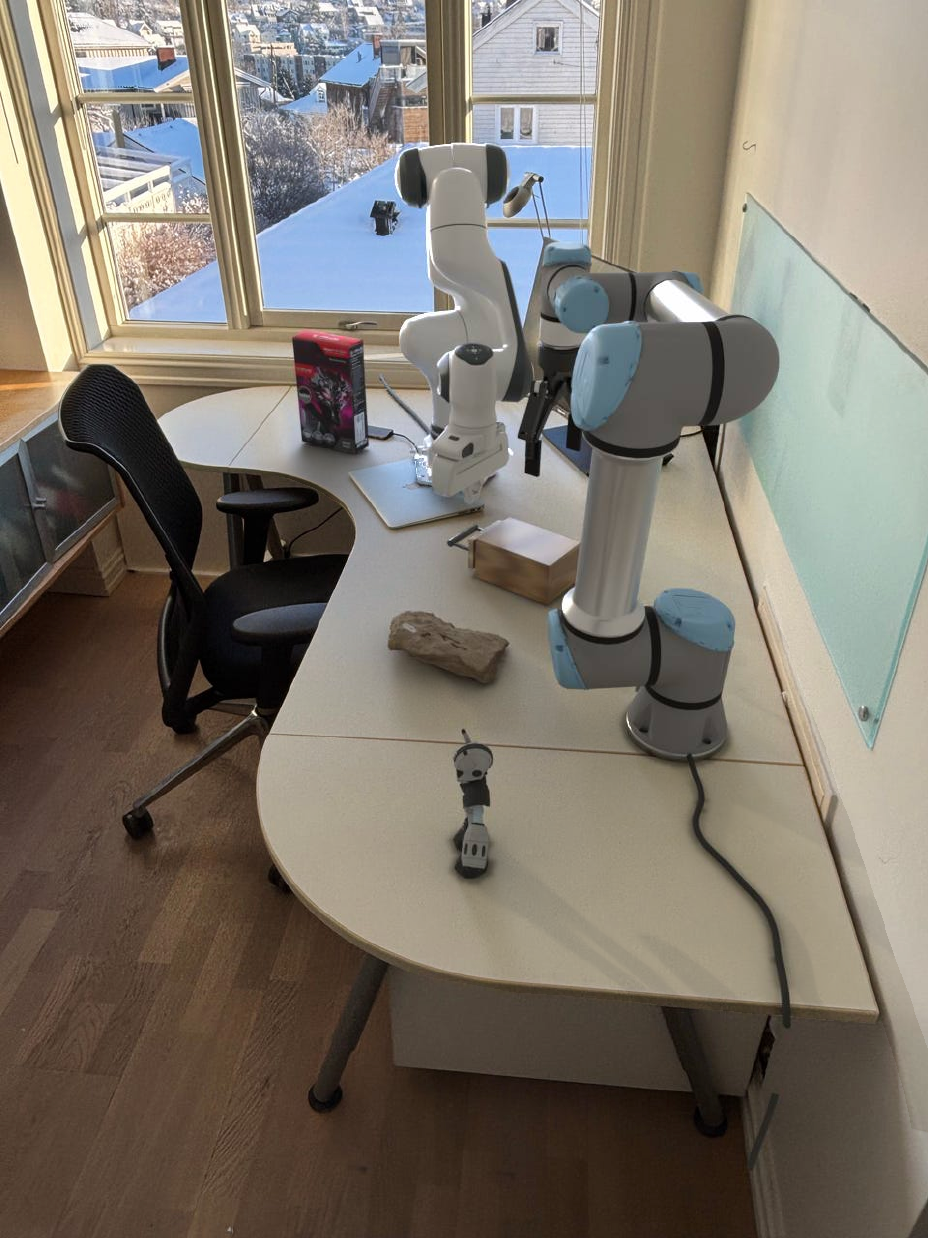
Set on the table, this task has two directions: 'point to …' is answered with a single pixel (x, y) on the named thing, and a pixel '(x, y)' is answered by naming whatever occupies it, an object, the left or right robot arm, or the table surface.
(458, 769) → the robot
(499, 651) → the stone
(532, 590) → the cabinet
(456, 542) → the drawer
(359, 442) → the graphics card box
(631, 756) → the table surface
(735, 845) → the table surface
